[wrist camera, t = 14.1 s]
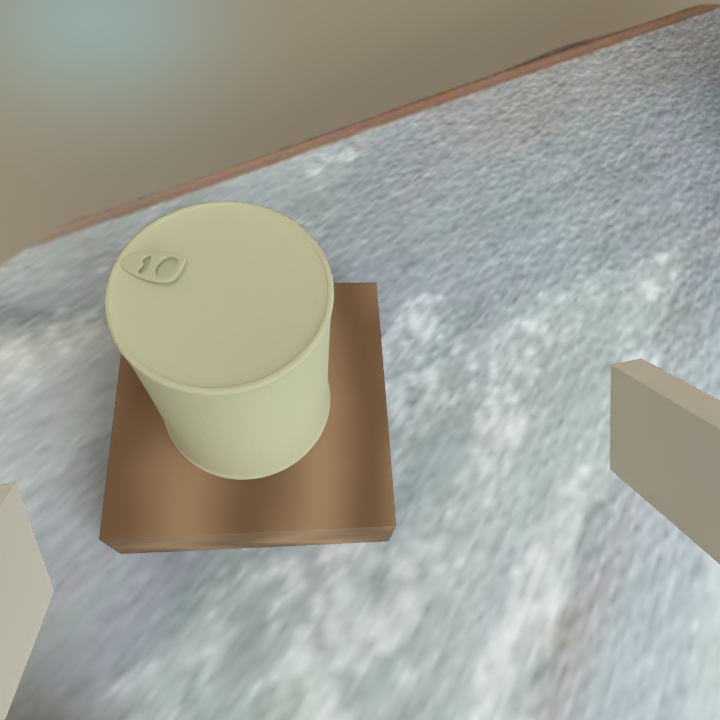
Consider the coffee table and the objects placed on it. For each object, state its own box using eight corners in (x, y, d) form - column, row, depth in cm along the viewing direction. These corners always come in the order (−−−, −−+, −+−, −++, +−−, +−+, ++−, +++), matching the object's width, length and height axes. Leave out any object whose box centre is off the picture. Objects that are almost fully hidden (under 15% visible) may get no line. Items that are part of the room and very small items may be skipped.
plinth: (371, 315, 44) (376, 282, 40) (388, 541, 37) (396, 526, 34) (144, 319, 43) (129, 286, 39) (120, 553, 36) (99, 539, 33)
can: (201, 310, 39) (157, 168, 28) (350, 352, 38) (363, 223, 27) (135, 452, 35) (54, 349, 24) (300, 501, 34) (292, 419, 23)
